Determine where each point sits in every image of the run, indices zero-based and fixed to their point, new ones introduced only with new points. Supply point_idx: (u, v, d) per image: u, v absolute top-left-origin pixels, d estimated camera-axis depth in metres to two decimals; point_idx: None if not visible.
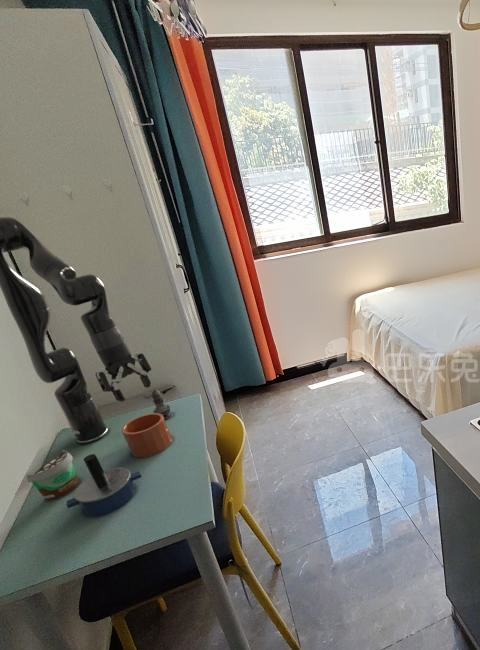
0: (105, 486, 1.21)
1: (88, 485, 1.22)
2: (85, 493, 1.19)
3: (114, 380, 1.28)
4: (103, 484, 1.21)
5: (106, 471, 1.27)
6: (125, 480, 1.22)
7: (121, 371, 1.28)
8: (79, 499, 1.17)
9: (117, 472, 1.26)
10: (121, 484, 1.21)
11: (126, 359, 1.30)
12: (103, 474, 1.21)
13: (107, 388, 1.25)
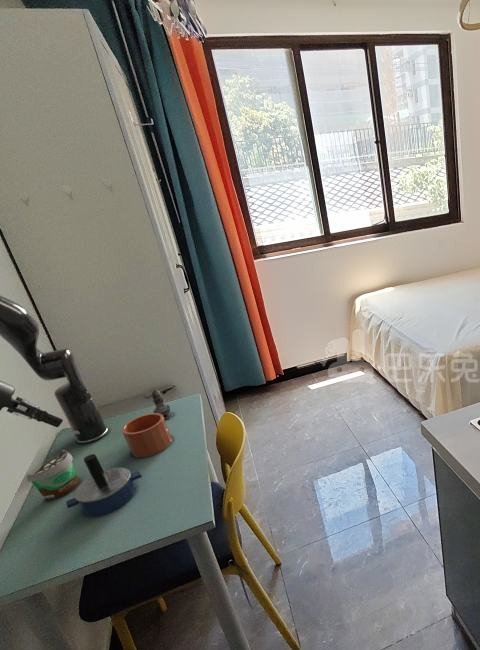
0: (105, 486, 1.21)
1: (88, 485, 1.22)
2: (85, 493, 1.19)
3: None
4: (103, 484, 1.21)
5: (106, 471, 1.27)
6: (125, 480, 1.22)
7: None
8: (79, 499, 1.17)
9: (117, 472, 1.26)
10: (121, 484, 1.21)
11: None
12: (103, 474, 1.21)
13: None
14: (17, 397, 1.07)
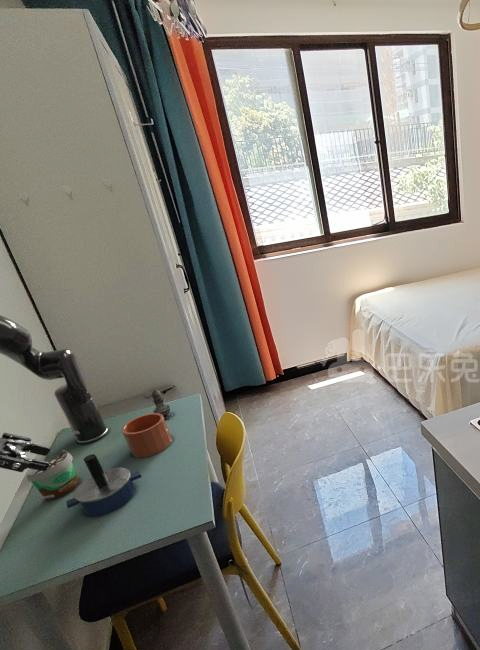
0: (105, 486, 1.21)
1: (88, 485, 1.22)
2: (85, 493, 1.19)
3: None
4: (103, 484, 1.21)
5: (106, 471, 1.27)
6: (125, 480, 1.22)
7: None
8: (79, 499, 1.17)
9: (117, 472, 1.26)
10: (121, 484, 1.21)
11: None
12: (103, 474, 1.21)
13: None
14: (7, 440, 1.08)
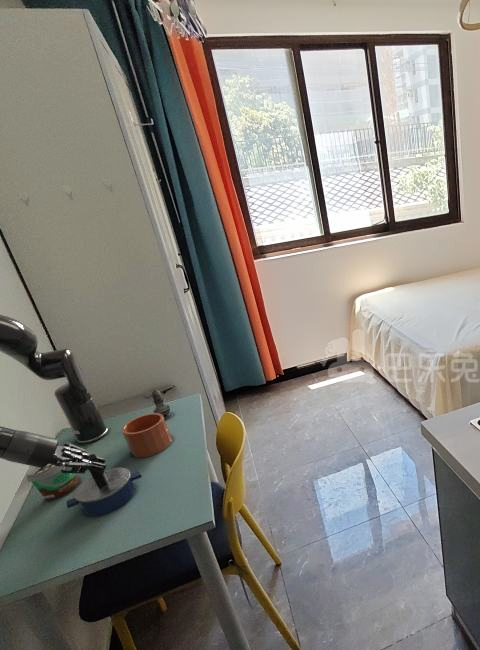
0: (105, 486, 1.21)
1: (88, 485, 1.22)
2: (85, 493, 1.19)
3: None
4: (103, 484, 1.21)
5: (106, 471, 1.27)
6: (125, 480, 1.22)
7: None
8: (79, 499, 1.17)
9: (117, 472, 1.26)
10: (121, 484, 1.21)
11: None
12: (103, 474, 1.21)
13: None
14: (63, 447, 1.16)
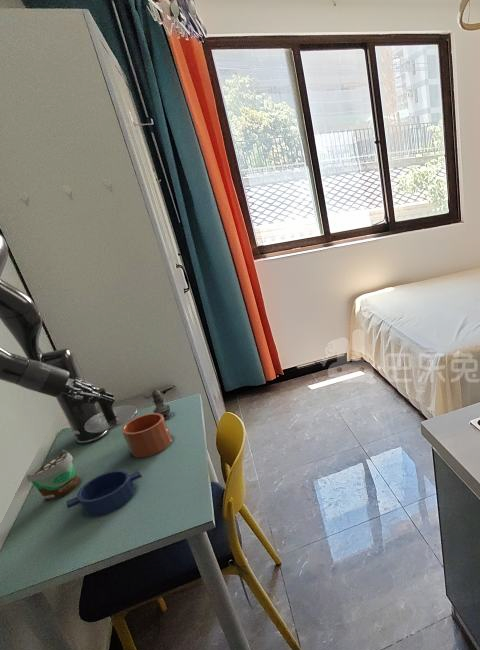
0: (113, 419, 1.28)
1: (97, 419, 1.29)
2: (94, 425, 1.26)
3: None
4: (111, 417, 1.28)
5: (114, 408, 1.34)
6: (132, 414, 1.29)
7: None
8: (89, 429, 1.24)
9: (124, 408, 1.33)
10: (128, 417, 1.28)
11: None
12: (111, 408, 1.28)
13: None
14: (74, 379, 1.23)
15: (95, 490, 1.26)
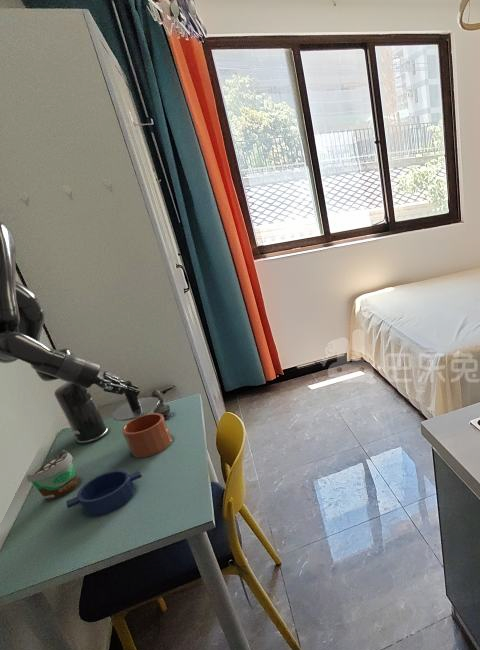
0: (138, 409, 1.40)
1: (123, 409, 1.41)
2: (121, 414, 1.38)
3: None
4: (137, 407, 1.40)
5: (138, 399, 1.46)
6: (155, 405, 1.41)
7: None
8: (117, 418, 1.36)
9: (148, 400, 1.45)
10: (152, 407, 1.40)
11: None
12: (137, 399, 1.40)
13: None
14: (104, 372, 1.35)
15: (95, 490, 1.26)
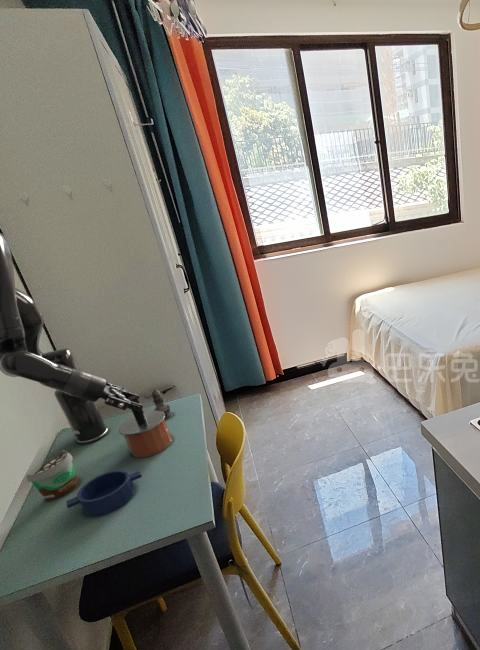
0: (144, 423, 1.42)
1: (129, 423, 1.44)
2: (128, 429, 1.40)
3: None
4: (143, 422, 1.42)
5: (143, 413, 1.49)
6: (161, 419, 1.44)
7: None
8: (123, 432, 1.38)
9: (153, 413, 1.48)
10: (158, 421, 1.42)
11: None
12: (143, 413, 1.42)
13: None
14: (110, 386, 1.37)
15: (95, 490, 1.26)
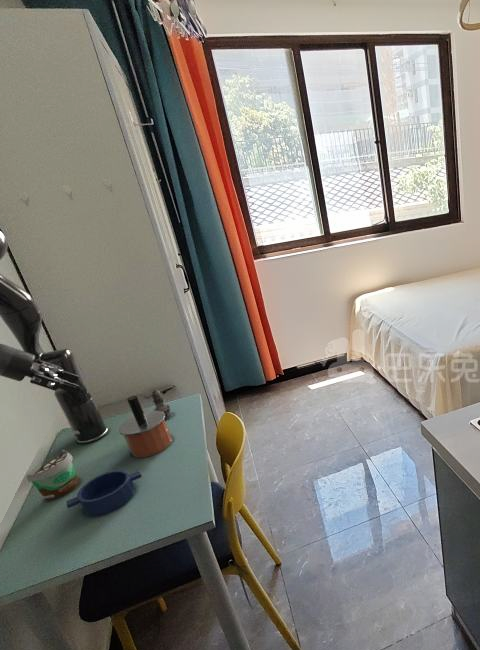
0: (144, 423, 1.42)
1: (129, 423, 1.44)
2: (128, 429, 1.40)
3: None
4: (143, 422, 1.42)
5: (143, 413, 1.49)
6: (161, 419, 1.44)
7: None
8: (123, 432, 1.38)
9: (153, 413, 1.48)
10: (158, 421, 1.42)
11: None
12: (143, 413, 1.42)
13: None
14: (41, 364, 1.18)
15: (95, 490, 1.26)
